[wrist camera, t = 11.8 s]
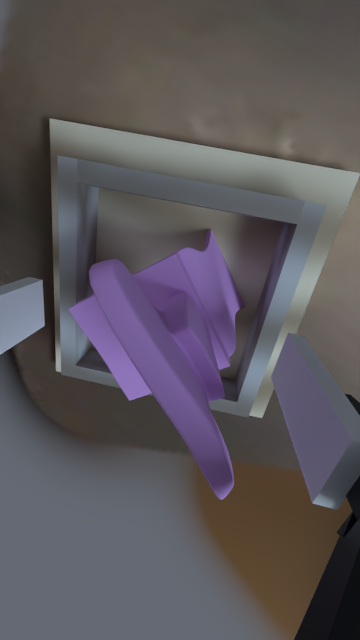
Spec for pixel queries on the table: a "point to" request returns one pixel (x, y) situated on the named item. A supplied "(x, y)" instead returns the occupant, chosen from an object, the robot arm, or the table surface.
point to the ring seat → (191, 237)
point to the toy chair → (170, 341)
